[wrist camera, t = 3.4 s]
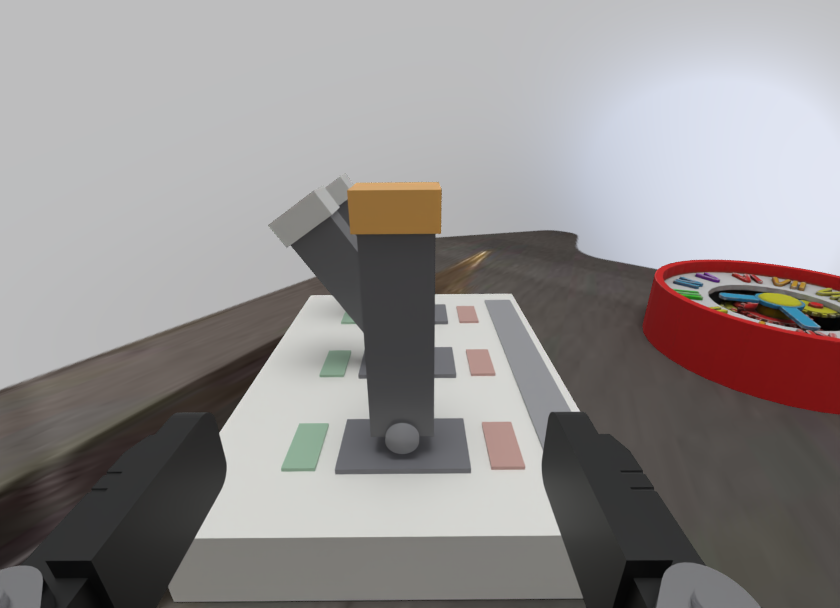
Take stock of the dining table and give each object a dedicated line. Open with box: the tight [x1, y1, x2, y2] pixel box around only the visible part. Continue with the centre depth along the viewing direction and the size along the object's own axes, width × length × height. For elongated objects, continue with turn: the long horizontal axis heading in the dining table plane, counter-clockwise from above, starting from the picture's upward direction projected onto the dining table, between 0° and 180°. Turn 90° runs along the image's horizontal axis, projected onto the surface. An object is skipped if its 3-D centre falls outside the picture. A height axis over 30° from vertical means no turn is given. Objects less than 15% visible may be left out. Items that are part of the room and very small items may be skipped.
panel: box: [168, 294, 583, 602], centre depth 29 cm, size 20×26×4 cm
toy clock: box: [643, 260, 840, 414], centre depth 37 cm, size 20×6×20 cm
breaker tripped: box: [347, 182, 442, 454], centre depth 18 cm, size 3×3×12 cm
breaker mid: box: [268, 186, 364, 333], centre depth 26 cm, size 3×3×12 cm
